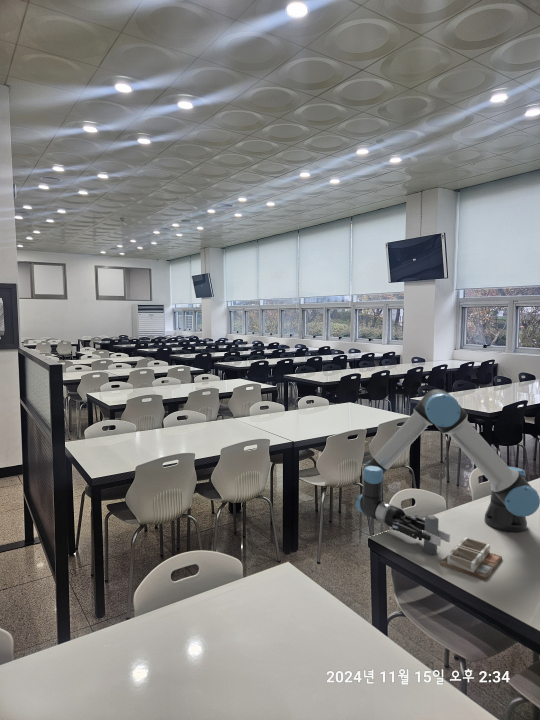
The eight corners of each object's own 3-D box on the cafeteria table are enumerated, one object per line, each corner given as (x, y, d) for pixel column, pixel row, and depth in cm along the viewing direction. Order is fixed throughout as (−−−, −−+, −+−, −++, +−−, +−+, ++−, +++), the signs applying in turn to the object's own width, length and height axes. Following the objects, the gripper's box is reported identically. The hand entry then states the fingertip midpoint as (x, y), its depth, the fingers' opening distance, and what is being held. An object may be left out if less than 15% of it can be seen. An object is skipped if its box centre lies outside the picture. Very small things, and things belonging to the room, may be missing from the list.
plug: (426, 547, 166) (428, 512, 165) (438, 552, 163) (440, 516, 162) (421, 552, 162) (423, 516, 161) (433, 556, 160) (435, 520, 158)
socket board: (459, 545, 168) (460, 534, 167) (501, 559, 159) (502, 547, 158) (440, 564, 154) (441, 553, 154) (485, 580, 145) (486, 568, 145)
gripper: (405, 520, 182) (459, 544, 163) (374, 530, 172) (427, 557, 153) (406, 501, 181) (460, 523, 162) (375, 510, 172) (428, 535, 152)
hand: (444, 540), depth 158 cm, fingers closed on plug, 4 cm apart
